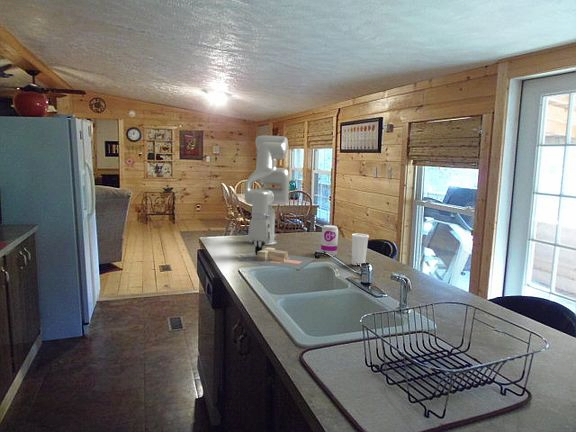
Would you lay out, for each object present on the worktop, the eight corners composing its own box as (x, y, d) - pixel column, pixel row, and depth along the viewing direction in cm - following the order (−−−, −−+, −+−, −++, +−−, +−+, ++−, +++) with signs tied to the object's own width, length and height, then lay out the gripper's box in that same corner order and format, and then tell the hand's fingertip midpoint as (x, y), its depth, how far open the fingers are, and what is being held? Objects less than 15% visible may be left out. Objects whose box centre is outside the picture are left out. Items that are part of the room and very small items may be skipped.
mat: (260, 251, 222) (260, 251, 222) (315, 259, 212) (315, 258, 212) (237, 261, 200) (237, 260, 200) (298, 270, 189) (298, 269, 189)
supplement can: (335, 257, 217) (337, 228, 215) (319, 256, 218) (321, 226, 216) (337, 254, 225) (339, 225, 223) (321, 252, 226) (323, 224, 224)
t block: (267, 255, 214) (268, 247, 214) (290, 258, 210) (290, 250, 209) (257, 260, 203) (257, 251, 203) (280, 263, 199) (281, 254, 198)
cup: (368, 264, 207) (370, 234, 205) (365, 267, 199) (367, 237, 197) (351, 262, 209) (353, 232, 207) (348, 265, 202) (349, 235, 200)
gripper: (277, 217, 207) (275, 255, 210) (249, 214, 213) (248, 251, 215) (270, 219, 201) (269, 258, 203) (242, 216, 206) (241, 254, 209)
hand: (258, 254), depth 209 cm, fingers closed
